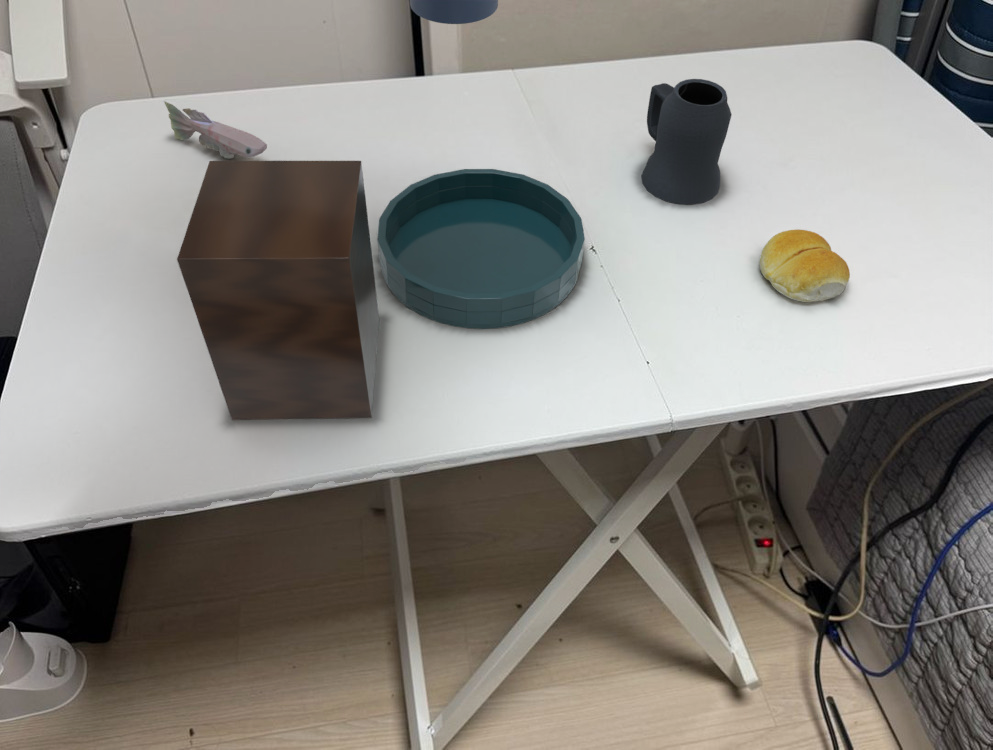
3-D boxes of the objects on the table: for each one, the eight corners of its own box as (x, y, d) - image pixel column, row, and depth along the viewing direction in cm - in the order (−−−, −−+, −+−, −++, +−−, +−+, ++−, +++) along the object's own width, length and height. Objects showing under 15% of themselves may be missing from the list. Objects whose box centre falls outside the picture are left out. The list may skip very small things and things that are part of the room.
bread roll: (810, 241, 90) (821, 211, 87) (856, 296, 84) (870, 266, 81) (741, 254, 88) (750, 224, 85) (783, 311, 82) (795, 280, 79)
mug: (735, 193, 95) (761, 104, 87) (668, 212, 92) (688, 122, 84) (678, 139, 102) (696, 52, 94) (614, 155, 99) (627, 67, 91)
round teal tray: (375, 330, 79) (371, 299, 76) (386, 199, 93) (383, 168, 90) (590, 328, 80) (595, 297, 77) (569, 198, 94) (573, 168, 91)
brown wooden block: (231, 419, 71) (176, 259, 58) (253, 321, 79) (209, 160, 66) (371, 417, 72) (349, 258, 58) (379, 320, 80) (361, 160, 66)
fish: (182, 132, 100) (171, 94, 97) (276, 165, 96) (268, 127, 93) (167, 143, 99) (155, 105, 95) (262, 177, 95) (253, 139, 91)
